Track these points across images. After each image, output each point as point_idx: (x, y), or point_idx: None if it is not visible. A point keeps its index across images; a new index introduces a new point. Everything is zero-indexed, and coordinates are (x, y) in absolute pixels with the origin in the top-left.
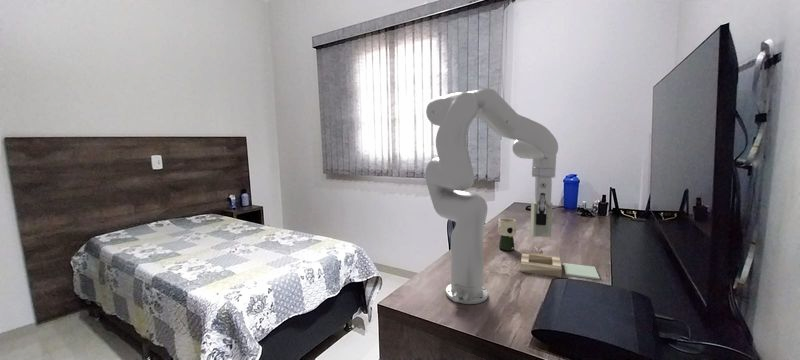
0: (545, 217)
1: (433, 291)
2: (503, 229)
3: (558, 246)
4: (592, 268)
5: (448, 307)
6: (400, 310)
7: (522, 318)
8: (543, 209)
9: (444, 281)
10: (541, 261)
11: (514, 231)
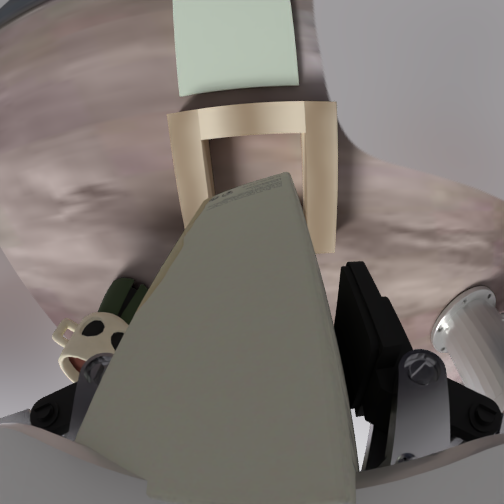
0: (384, 320)
1: (449, 358)
2: None
3: (20, 150)
4: (195, 2)
5: None
6: None
7: None
8: (488, 415)
9: None
10: (211, 176)
11: (107, 326)
